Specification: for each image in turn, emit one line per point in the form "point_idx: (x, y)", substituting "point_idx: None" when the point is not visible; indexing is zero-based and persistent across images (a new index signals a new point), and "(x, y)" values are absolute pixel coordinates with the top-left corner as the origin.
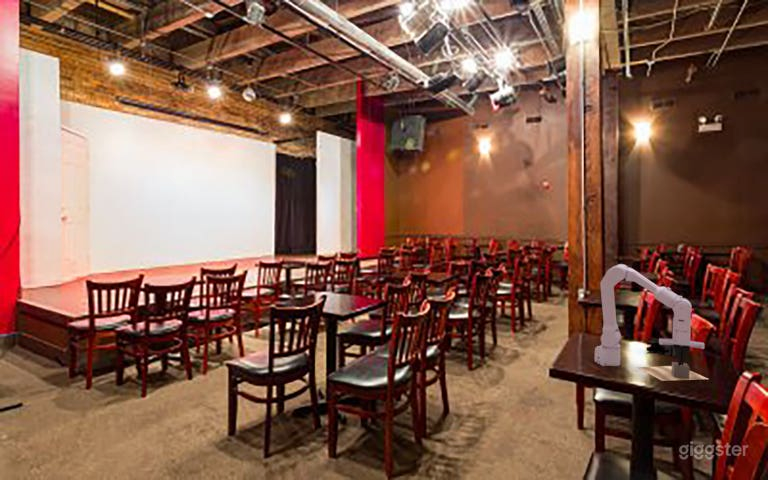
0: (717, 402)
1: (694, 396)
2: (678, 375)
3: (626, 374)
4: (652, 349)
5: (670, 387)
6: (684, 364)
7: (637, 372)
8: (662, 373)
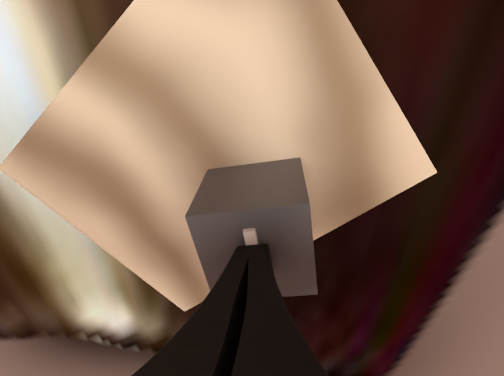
0: (378, 366)
1: None
2: None
3: (20, 243)
4: None
5: None
6: (286, 237)
7: None
8: (162, 210)
